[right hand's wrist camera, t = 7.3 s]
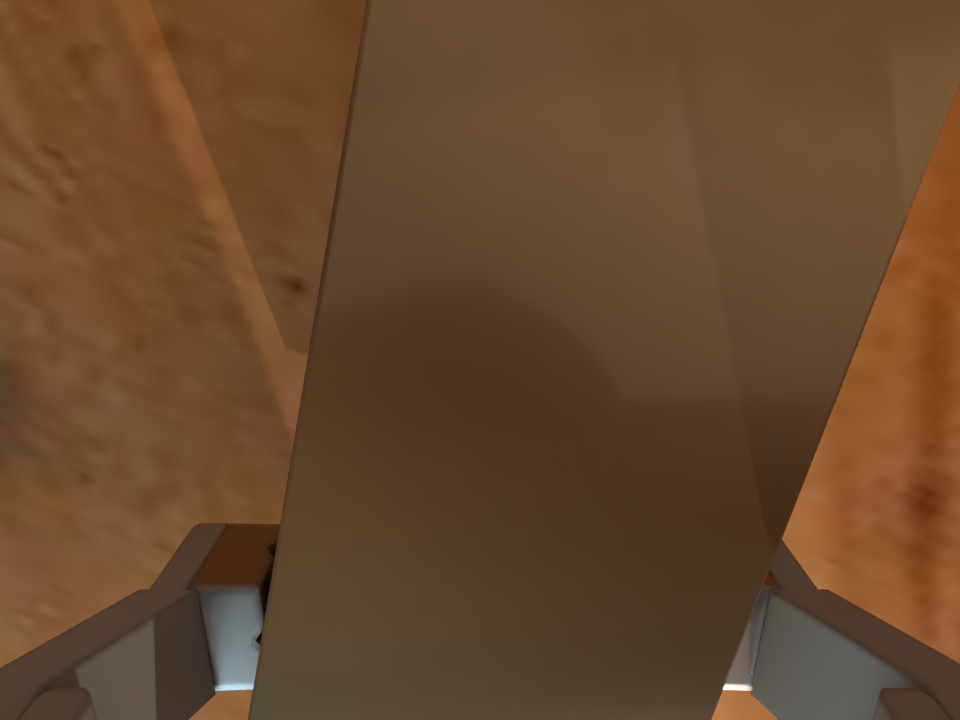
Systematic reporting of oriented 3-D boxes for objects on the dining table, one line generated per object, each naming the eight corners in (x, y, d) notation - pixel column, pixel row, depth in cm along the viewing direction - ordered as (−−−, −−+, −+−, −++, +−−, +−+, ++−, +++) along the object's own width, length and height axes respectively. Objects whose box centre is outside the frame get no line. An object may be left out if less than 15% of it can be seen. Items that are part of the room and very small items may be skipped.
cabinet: (488, -207, 14) (542, -1082, 4) (738, -135, 14) (1302, -779, 5) (342, 536, 18) (212, 926, 9) (536, 573, 19) (611, 980, 9)
